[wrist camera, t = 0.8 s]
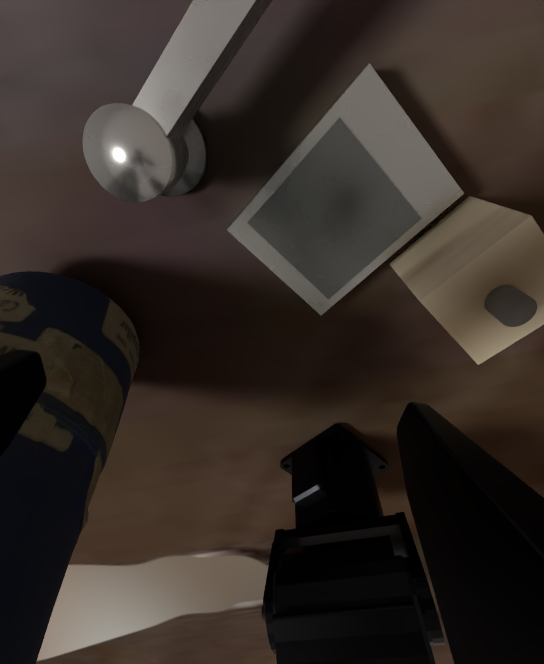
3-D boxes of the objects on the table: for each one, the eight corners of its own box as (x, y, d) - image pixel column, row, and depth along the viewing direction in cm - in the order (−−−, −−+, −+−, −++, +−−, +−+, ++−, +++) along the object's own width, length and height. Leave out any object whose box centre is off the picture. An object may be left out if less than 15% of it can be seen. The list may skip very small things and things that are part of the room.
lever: (415, -147, 10) (450, -224, 8) (159, 209, 15) (139, 220, 13) (344, -278, 9) (363, -408, 7) (97, 155, 14) (64, 158, 12)
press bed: (450, 189, 17) (465, 193, 15) (318, 304, 20) (321, 316, 19) (361, 70, 14) (369, 62, 13) (231, 223, 18) (226, 230, 16)
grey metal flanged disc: (224, 149, 16) (214, 151, 14) (177, 211, 18) (162, 221, 16) (155, 79, 15) (133, 69, 13) (111, 153, 16) (85, 155, 14)
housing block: (516, 261, 18) (609, 311, 13) (437, 317, 20) (491, 380, 15) (468, 195, 17) (553, 222, 12) (388, 263, 19) (429, 313, 13)
